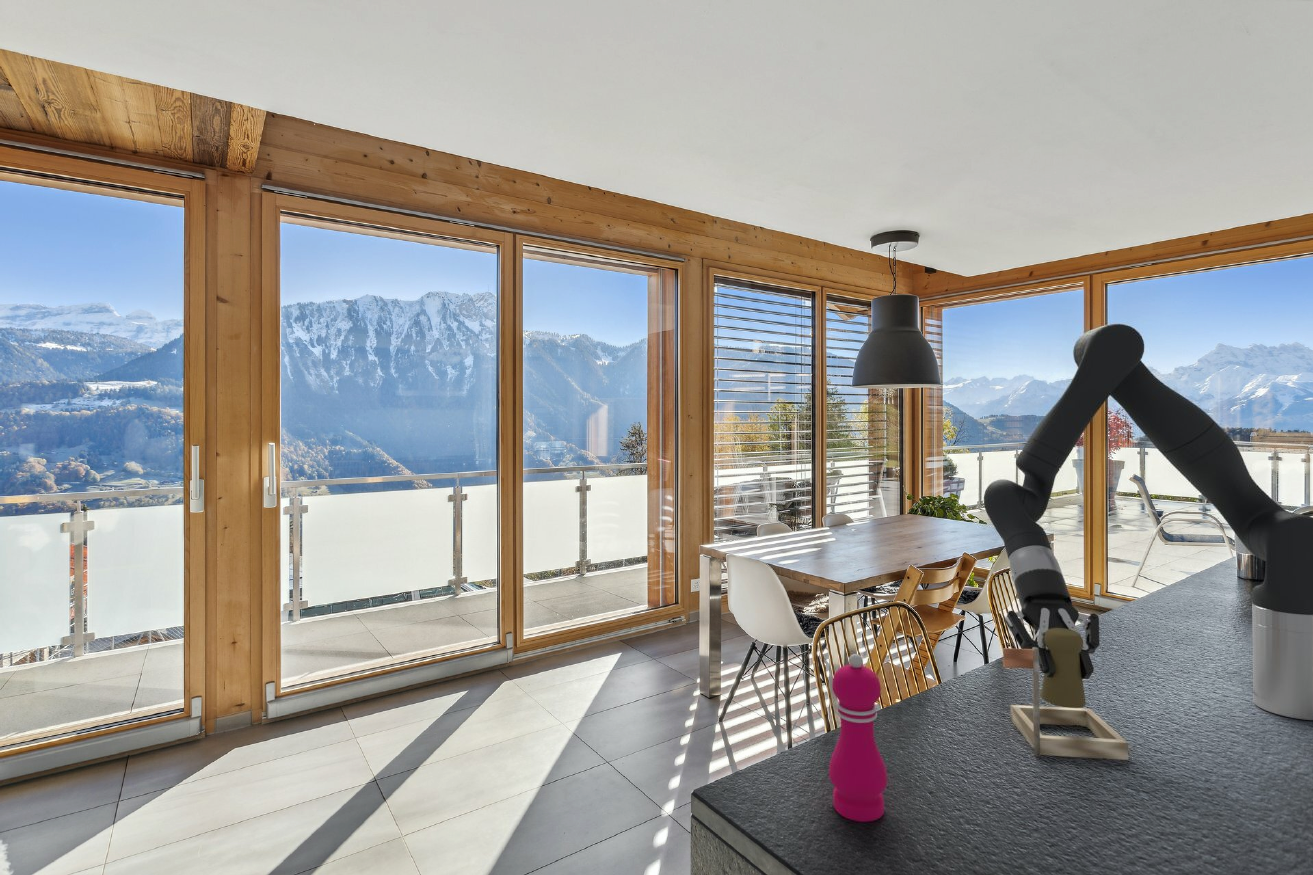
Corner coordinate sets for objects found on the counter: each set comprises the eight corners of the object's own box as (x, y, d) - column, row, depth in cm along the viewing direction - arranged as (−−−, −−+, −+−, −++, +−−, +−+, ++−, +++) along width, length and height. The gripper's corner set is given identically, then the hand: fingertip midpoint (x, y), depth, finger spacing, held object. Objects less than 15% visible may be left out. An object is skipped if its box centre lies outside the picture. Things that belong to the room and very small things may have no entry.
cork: (1093, 709, 100) (1093, 636, 100) (1049, 706, 102) (1049, 634, 101) (1075, 693, 106) (1076, 624, 106) (1034, 690, 107) (1035, 622, 107)
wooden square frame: (1089, 723, 109) (1088, 626, 109) (1131, 762, 96) (1129, 652, 96) (979, 718, 112) (978, 622, 111) (1005, 755, 99) (1004, 647, 99)
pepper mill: (821, 794, 89) (819, 646, 89) (874, 791, 90) (871, 643, 90) (841, 826, 82) (838, 665, 82) (897, 822, 83) (895, 662, 83)
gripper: (998, 565, 112) (1025, 662, 100) (1091, 567, 110) (1130, 667, 98) (988, 589, 117) (1012, 684, 106) (1076, 591, 115) (1112, 688, 103)
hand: (1069, 675), depth 102 cm, fingers closed on cork, 4 cm apart
